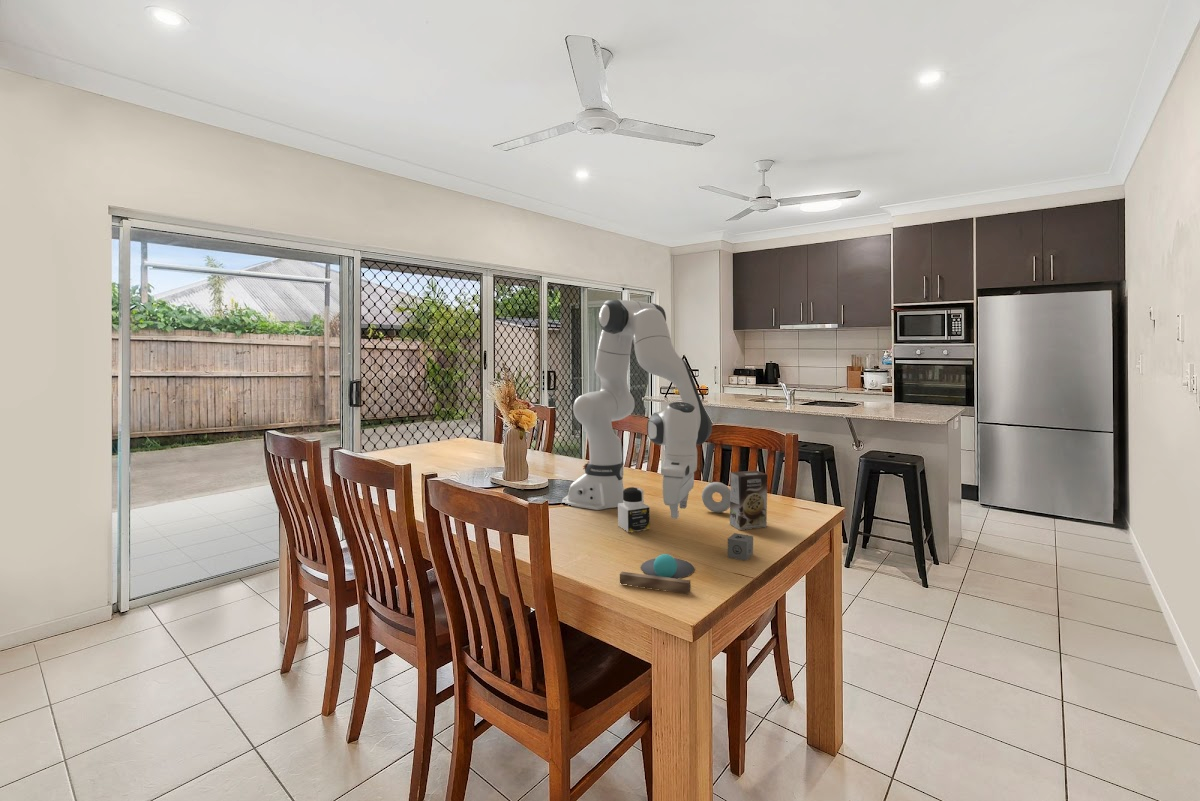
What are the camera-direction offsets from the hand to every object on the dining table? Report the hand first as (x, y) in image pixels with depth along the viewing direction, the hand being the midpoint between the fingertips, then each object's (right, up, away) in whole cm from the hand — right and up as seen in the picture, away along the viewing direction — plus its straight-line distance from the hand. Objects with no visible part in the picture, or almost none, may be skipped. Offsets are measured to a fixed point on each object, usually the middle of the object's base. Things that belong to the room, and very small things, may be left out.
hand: (679, 512), depth 158 cm
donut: (+16, -6, +29) cm, 34 cm away
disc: (-5, -11, -16) cm, 20 cm away
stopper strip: (-9, -12, -27) cm, 31 cm away
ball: (-6, -8, -22) cm, 24 cm away
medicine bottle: (-11, -8, +15) cm, 20 cm away
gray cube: (+15, -10, -9) cm, 20 cm away
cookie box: (+23, -7, +15) cm, 28 cm away
